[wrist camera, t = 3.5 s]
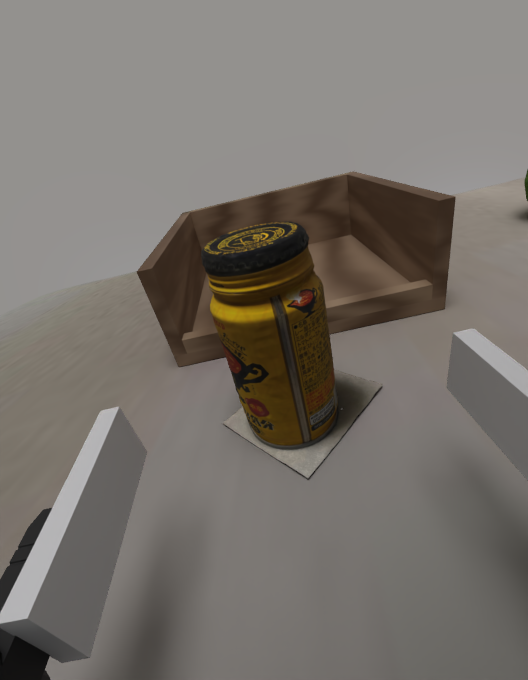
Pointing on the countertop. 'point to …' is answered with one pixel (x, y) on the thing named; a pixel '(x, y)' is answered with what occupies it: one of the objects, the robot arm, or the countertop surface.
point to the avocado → (526, 185)
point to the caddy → (313, 255)
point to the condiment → (280, 344)
